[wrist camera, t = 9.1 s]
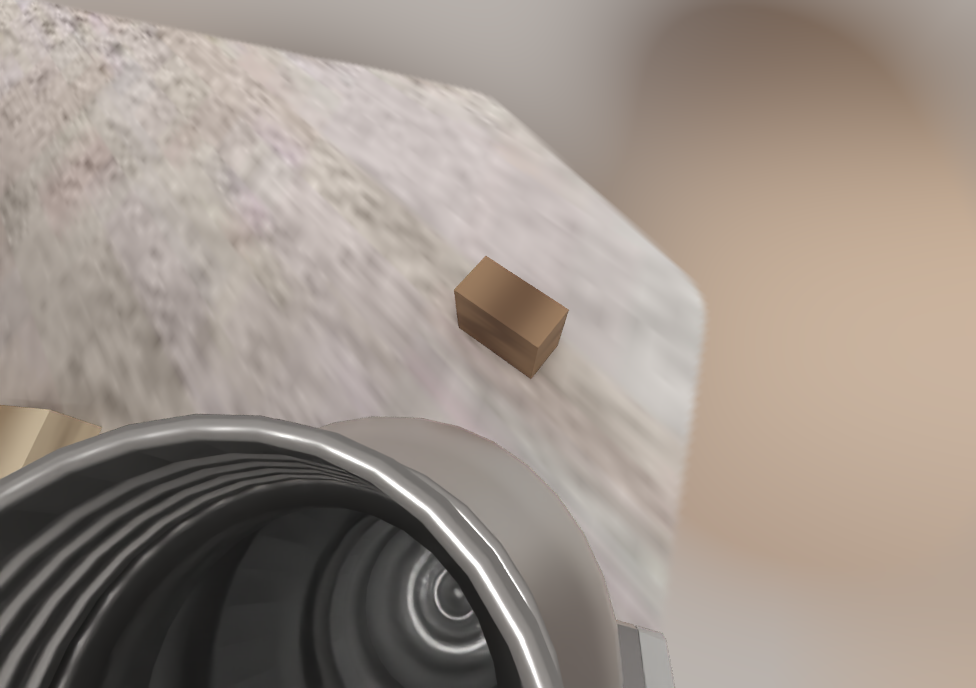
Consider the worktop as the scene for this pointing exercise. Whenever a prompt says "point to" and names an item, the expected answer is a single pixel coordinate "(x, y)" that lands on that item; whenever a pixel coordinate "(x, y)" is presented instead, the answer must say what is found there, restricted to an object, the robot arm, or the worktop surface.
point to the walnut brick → (509, 316)
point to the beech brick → (36, 435)
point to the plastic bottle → (296, 562)
